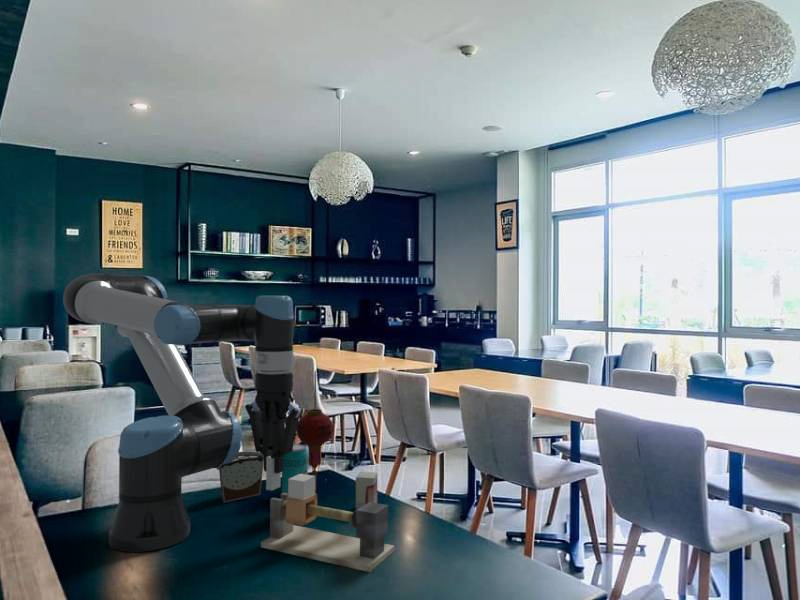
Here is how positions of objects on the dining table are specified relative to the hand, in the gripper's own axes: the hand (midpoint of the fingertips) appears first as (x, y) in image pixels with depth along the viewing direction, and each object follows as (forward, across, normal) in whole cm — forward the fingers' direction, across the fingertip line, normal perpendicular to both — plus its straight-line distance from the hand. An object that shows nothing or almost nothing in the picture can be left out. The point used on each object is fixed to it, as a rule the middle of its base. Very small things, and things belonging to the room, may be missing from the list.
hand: (273, 488), depth 120 cm
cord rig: (+10, +13, 0) cm, 16 cm away
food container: (+10, -24, +17) cm, 31 cm away
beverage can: (+10, -4, +13) cm, 17 cm away
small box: (+10, +9, +23) cm, 27 cm away
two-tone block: (+5, +7, 0) cm, 9 cm away
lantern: (+10, -10, +30) cm, 33 cm away
